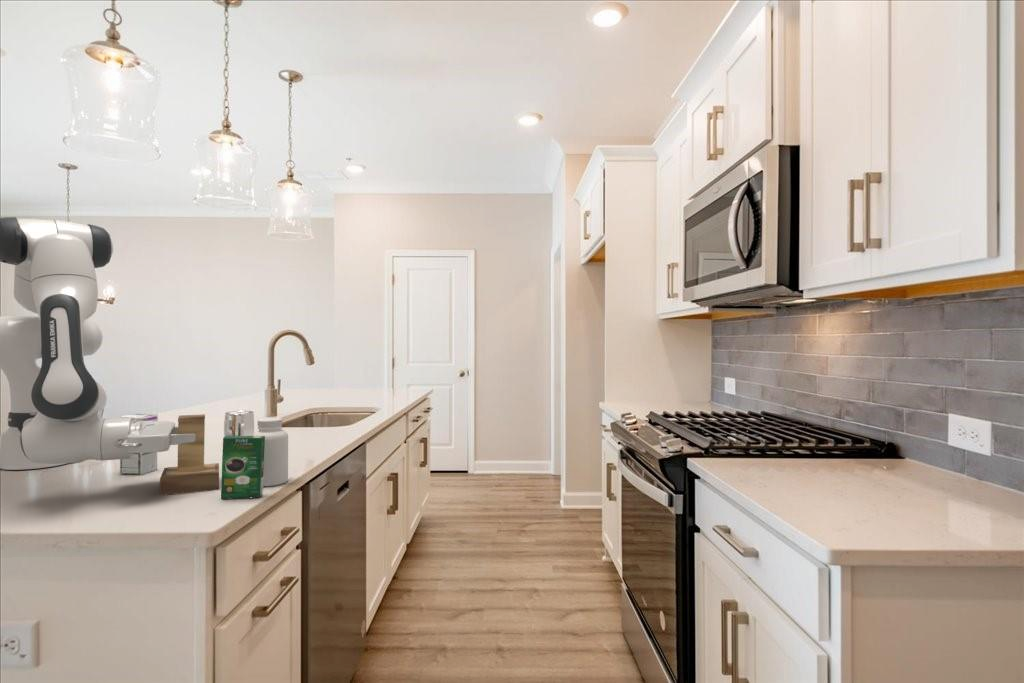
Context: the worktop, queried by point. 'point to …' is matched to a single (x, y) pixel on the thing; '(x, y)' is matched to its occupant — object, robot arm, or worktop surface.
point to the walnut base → (189, 480)
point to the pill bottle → (274, 451)
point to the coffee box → (242, 466)
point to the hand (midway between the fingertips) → (196, 433)
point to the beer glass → (239, 423)
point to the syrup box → (140, 461)
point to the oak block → (191, 443)
